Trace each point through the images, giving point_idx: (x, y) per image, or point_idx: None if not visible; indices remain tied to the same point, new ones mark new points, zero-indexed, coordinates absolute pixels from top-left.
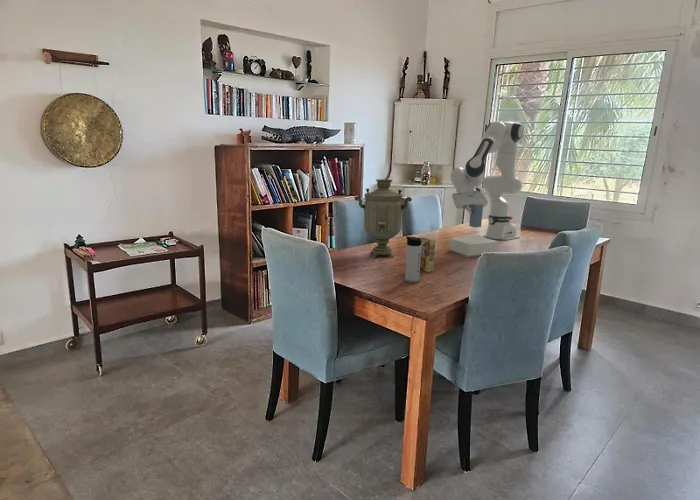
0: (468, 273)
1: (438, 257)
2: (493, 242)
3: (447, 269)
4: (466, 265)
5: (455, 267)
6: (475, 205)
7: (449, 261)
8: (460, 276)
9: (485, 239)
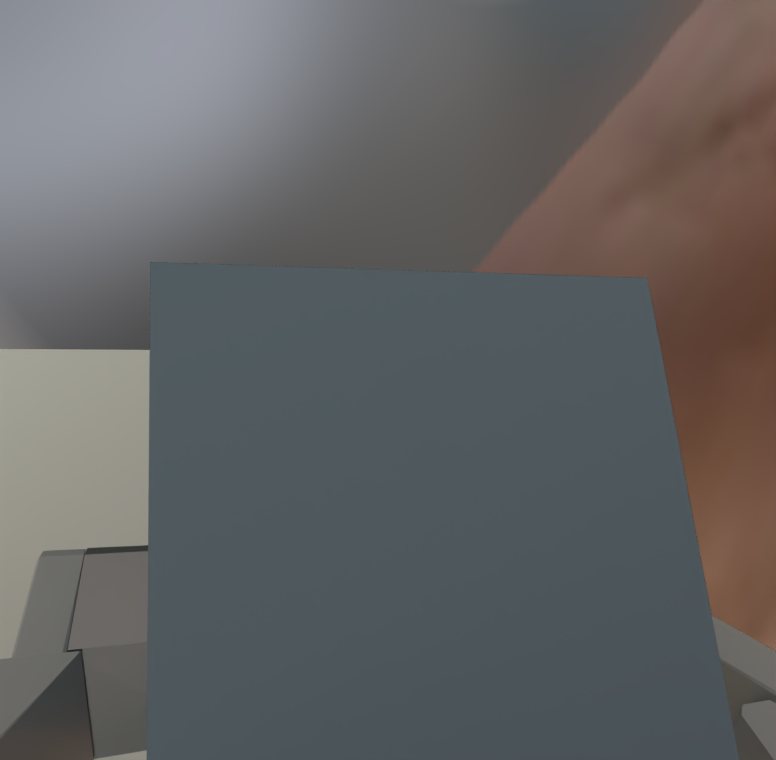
0: (671, 40)
1: (714, 495)
2: (44, 351)
3: (769, 169)
4: (591, 188)
5: (697, 182)
6: (653, 365)
7: (673, 339)
8: (746, 21)
9: (27, 551)
